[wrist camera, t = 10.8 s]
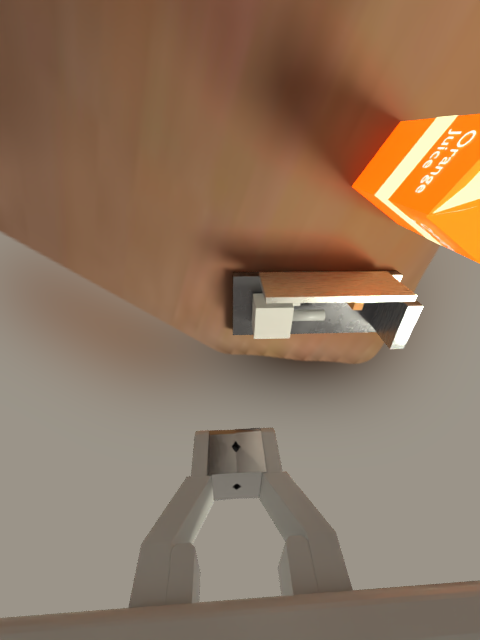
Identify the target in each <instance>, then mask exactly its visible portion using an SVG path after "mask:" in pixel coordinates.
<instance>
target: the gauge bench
mask: <svg viewBox="0 0 480 640" xmlns="http://www.w3.org/2000/svg"><path fill="white" fill-rule="evenodd" d="M402 276H403V275H402V274H401V273H399V272H398V271H303V272H233V335H253V329H252V323H251V322H252V302H253V294H257V293H263V296H264V299H265V303H300V306H294V310H310V309H324V310H325V320H323V321H292V325H291V332H290V334H304V333H351V332H377V334H378V335H379V336H380V337H381V339H382V340H383V341H384V342H385V344H386V345H387V346H388V347H389V348H390V349H404V347H405V345H406V343H407V340H408V338H409V336H410V334H411V332H412V330H413V327H414V325H415V323H416V321H417V319H418V317H419V315H420V312H421V310H422V308H423V305H422V304H420V303H419V302H418V301H417V300H416V297H417V295H416V294H415V293H414V292H412V291H411V290H410V289H408V288H407V287H406V286H405V285H403V284H402V283H401V282H400V281H401V278H402ZM347 302H356V303H364V305H363V308H362V310H352V309H351V307H350V306H349V305H348V303H347Z"/></svg>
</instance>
